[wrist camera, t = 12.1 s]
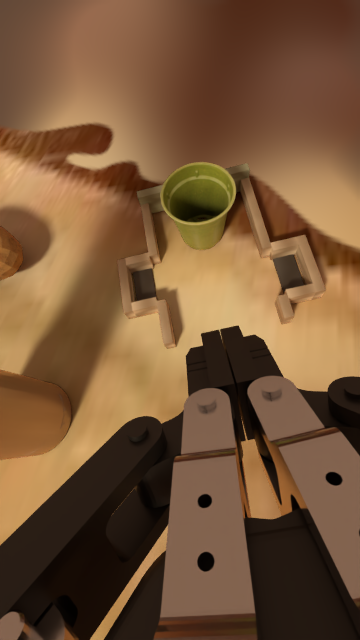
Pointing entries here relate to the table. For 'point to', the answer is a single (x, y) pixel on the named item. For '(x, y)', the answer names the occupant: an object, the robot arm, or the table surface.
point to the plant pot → (199, 202)
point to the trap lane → (277, 251)
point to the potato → (9, 254)
